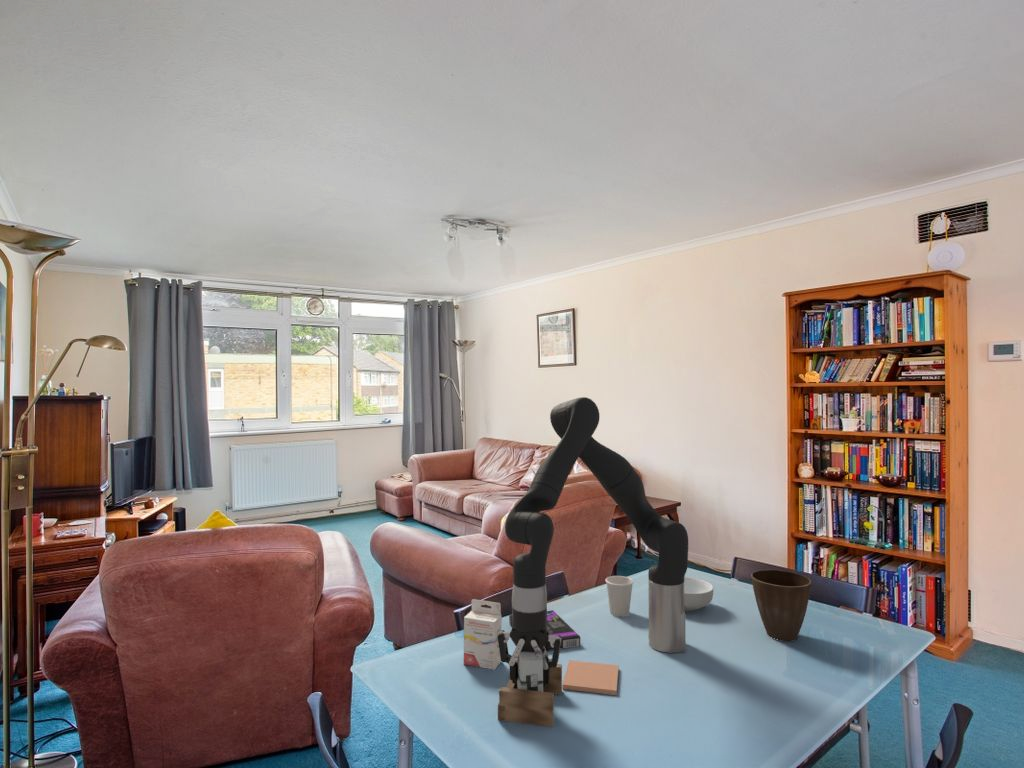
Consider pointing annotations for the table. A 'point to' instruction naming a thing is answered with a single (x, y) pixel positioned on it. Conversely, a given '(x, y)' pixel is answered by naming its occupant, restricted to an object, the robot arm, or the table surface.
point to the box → (558, 631)
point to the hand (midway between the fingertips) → (529, 682)
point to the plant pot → (781, 601)
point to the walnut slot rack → (530, 701)
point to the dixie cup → (619, 595)
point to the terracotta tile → (591, 677)
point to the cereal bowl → (696, 593)
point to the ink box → (530, 671)
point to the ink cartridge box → (482, 635)
